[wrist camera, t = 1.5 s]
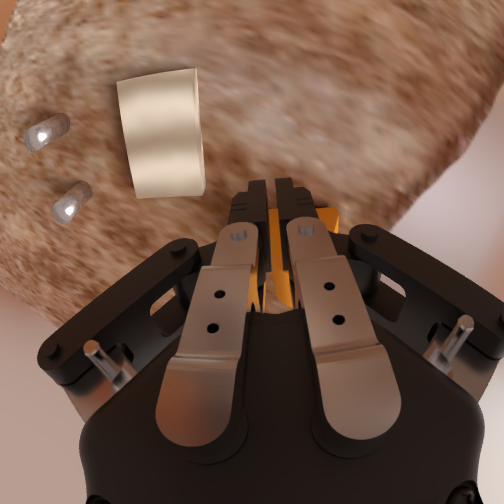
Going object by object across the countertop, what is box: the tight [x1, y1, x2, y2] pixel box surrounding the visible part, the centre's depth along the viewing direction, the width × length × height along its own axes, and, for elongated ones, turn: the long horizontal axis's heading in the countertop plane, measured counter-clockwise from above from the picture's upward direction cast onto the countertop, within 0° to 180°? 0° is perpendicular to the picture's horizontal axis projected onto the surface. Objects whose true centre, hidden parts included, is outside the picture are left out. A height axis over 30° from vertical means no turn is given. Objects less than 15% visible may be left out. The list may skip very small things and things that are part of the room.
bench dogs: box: [24, 113, 92, 224], centre depth 28 cm, size 13×3×6 cm, turn 7°
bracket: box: [269, 207, 339, 308], centre depth 32 cm, size 11×7×12 cm, turn 97°
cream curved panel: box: [116, 68, 206, 199], centre depth 28 cm, size 14×8×3 cm, turn 1°
